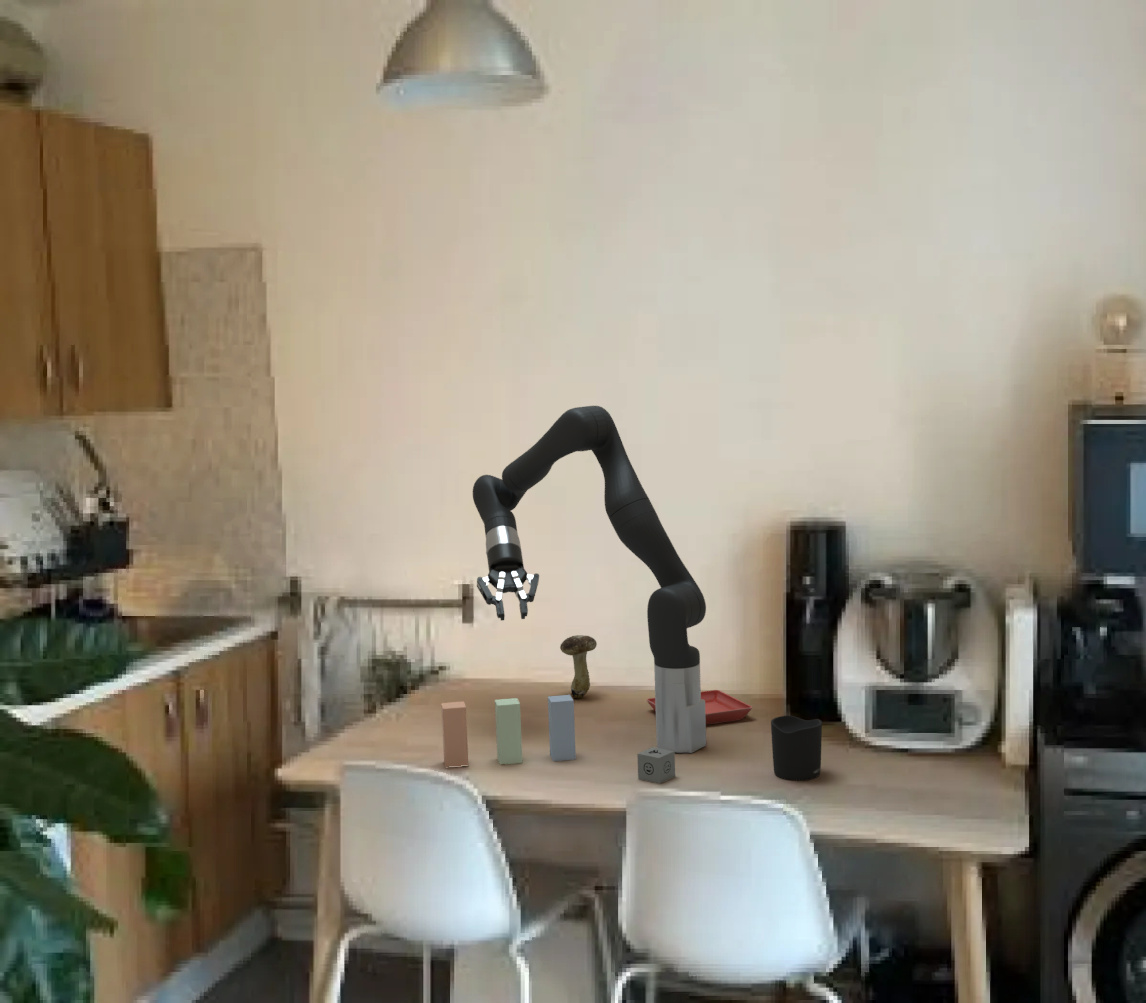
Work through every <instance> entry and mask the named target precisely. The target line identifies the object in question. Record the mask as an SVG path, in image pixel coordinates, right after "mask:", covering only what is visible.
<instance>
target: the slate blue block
mask: <svg viewBox="0 0 1146 1003" xmlns="http://www.w3.org/2000/svg"><path fill="white" fill-rule="evenodd" d="M574 701H575V700H574V699H573V697H572V695H571V694H564V695H563V694H562V695H551V696H547V711H548V713H547V714H548V733H549V734H548V735H549V736H548V738H549V739H548V741H549V755H550V757H551V759H552V761H553V762H561V761H563V762H564V761H571V760H573V761H575V760H577V757H576V756H577V754H576V751H577V750H576V730H575V726H576V725H575V704H574Z"/></svg>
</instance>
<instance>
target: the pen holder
mask: <svg viewBox="0 0 1146 1003" xmlns="http://www.w3.org/2000/svg"><path fill="white" fill-rule="evenodd" d="M822 724H823V722H822V720H821V719H819V718H815V719H814V718H813V719H810V720H806V719H802V718H801V717H797V716H793V715H782V716H778V717H774V718H772V719H771V720H770V730H771V732H770V733H771V748H772V762H773V765H772V766H773V772H774V774H775V775H776V776H777V777H779V778H781V779H783V780H789V781H809V780H813V779H815V778H817V777H819V775H820V774H821V770H822V769H821V768H822V767H821V766H822V740H823V739H822V738H823V737H822V735H823V734H822V732H823V731H822V730H823V728H822V727H823V725H822Z"/></svg>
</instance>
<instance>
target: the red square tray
mask: <svg viewBox="0 0 1146 1003" xmlns="http://www.w3.org/2000/svg"><path fill="white" fill-rule="evenodd" d="M701 699H703V700H705V718H706V726H707V725H712V724H721V723H728V722H736V721H742V720H743V719H744V718H745V717H746V716H747V715H748V714H749V713H750V712H751V711H752V709H753V706H752V705H749V704H748V703H746V702H744V701H742V700H740V699H737V698H735V697H733V696H732V695H730V694H728V693H725V692H724V691H721V690H720V689H713V690H704V691H701ZM646 701H647V703H648V704H649V706H650V707H651V708H652V709H653V710H654V711H655V712H656V706H655V697H652V698H651V697H650V698H647V699H646Z"/></svg>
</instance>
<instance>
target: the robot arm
mask: <svg viewBox="0 0 1146 1003" xmlns="http://www.w3.org/2000/svg"><path fill="white" fill-rule="evenodd" d="M587 451H591V452H592V453H593V455H594V456H595V458H596V460H597V462H598V464H599V466H600V468H601V471H602V473H603V474H602V475H603V479H604V495H603V496H604V509H605V512H606V515H607V518H608V520H609V521H610V523H611V526H612V527H613V530H614V532H615V534H616V535H617V537H618V538H619V539H620V541H621V543H622V544H623V545H624V546H625V547H626V548H627V549H628V550H629V551H630V552H632V553H633V555H635V557H637V558H638V559H640V561H641V562H643V563H644V564H645V566H647V567H648V569H649V570H650V572H651V573H652V574H653V576H654V578H655V579H656V581H657V582H658V585H659V587H660V588H657V589H656V590H654V591H653V592H652V593H651V595H650V596H649V599H648V601H647V602H648V603H647V611H646V613H647V616H646V617H647V627H648V628H647V629H648V630H647V631H648V642H649V643H648V644H649V648H650V651H651V653H652V655H653V656H652V657H653V660H654V661H653V664H654V672H653V673H654V698H655V706H656V711H655V731H656V737H655V738H656V748H661V749H666V750H671V751H675V753H687V754H688V753H689V754H692V753H694V752H696V751H698V750H700V749H702V748H704V747H706V746H707V731H706V730H707V727H706V726H707V725H706V718H705V700H703V699H701V692H702V690H701V686H702V685H701V657H700V656H701V655H700V650H699V649H698V648H697V647H695V646H692V645H690V644H689V640H688V639H689V638H688V637H689V636H688V629H689V628H691V627H692V628H693V627H695V626H697V625H699V624H700V623H701V622H702V621H703V620H704V618H705V616H706V612H707V604H706V599H705V596H704V594H703V592H702V590H701V589H700V587H699V585H698V584H697V582H696V580H695V578H693V576H692V574H691V573H690V571H689V570H688V567H686V565H685V564H684V562H683V560H682V558H680V555H679V554H678V553H677V552H678V551H677V550H676V549H675V547H674V544H673V543H672V541H671V539H670V538H669V536H668V534H667V531H666V530H665V528H664V526H663V524H662V522H661V520H660V518H659V516H658V513H657V512H656V509H655V508H654V506H653V503H652V501H651V499H650V498H649V496H648V494H647V493H646V491H645V489H644V487H643V485H642V483H641V481H640V480H639V477H638V475H637V473H636V471H635V469H634V467H633V465H632V463H631V461H630V458H629V457H628V456H629V455H628V454H627V451H626V449H625V447H624V444H623V441H622V439H621V435H620V433H619V431H618V429H617V426H616V423H615V422H614V419H613V417H612V416H611V414H610V413H609V411H607V409H605V408H604V407H602V406H600V405H587V406H578V407H573V408H570V409H567V410H566V411H564V413H562V414H561V415H560V416H559V417H558V418H557V420H556V421H554V423H552V425H551V426H550V428H549V429H548V430H547V431H545V433H544V434H543V435H542V437H540V438H539V439H538V440H537V442H535V444H534V445H532V446H531V447H530V448H528V449H527V450H526V451H525V452H524V453H523V454H521V455H519V456H518V457H517V458H515V459H514V460H513V461H512V462H510V463H509V464H508V465H507V466H505V468H504V469H503V470H502V473H501V478H499V477H496V476H494V475H491V474H483V475H480V476H479V477H477V479H476V480H475V482H474V484H473V486H472V487H473V488H472V499H473V503H474V506H475V508H476V510H477V512H478V514H479V517H480V519H481V520H482V523H483V527H484V533H485V554H486V558H487V565H488V574H487V575H486V576H485V577H482V576H478V577H477V578H476V587H477V589H478V591H479V592H480V594H481V597H482V598H483V599H484V601H485V603H486V604H487V605H489V606H491V605H493V606H495V612H496V617H497V618H498V619H500V621H505V616H506V615H505V608H504V601H503V600H502V599H503V594H506V593H514V594H515V597H516V598H517V600H518V601H519V611H520V612H519V613H520V618H521V620H525V618H526V617H528V615H529V613H528V612H529V609H528V608H529V607H528V603H533V602H534V600H535V596H536V593H537V590H538V585H539V582H540V581H539V580H540V573H533V574H529V573H528V572H527V571H526V569H525V566H524V561H523V560H524V559H523V553H522V547H521V540H520V537H519V533H518V529H517V521H516V517H515V515H514V513H513V512H512V511H513V510H515V509H516V507H518V504H519V503H520V501H521V500H522V498H523V497H524V496H525V494H526V493H527V492H528V491H529V490H530V489H532V488H533V487H534V486H535V485H537V484H538V483H539V482H541V481H542V480H543V479H545V478H546V476H547V475H548V474H549V473H550V471H551V470H552V467H553V466H554V464H555V463H556V462H557V461H559V460H560V459H562V458H564V457H566V456H568V455H570V454H573V453H575V452H587ZM526 581H527V582H528V584H529V586H530V588H529V590H528V593H526V592H525V590H524V584H525V582H526ZM489 584H491V586H492V587H493V588H495V590H496V594H495V595H493V594H492V592H491V590H490V589H489Z"/></svg>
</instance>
